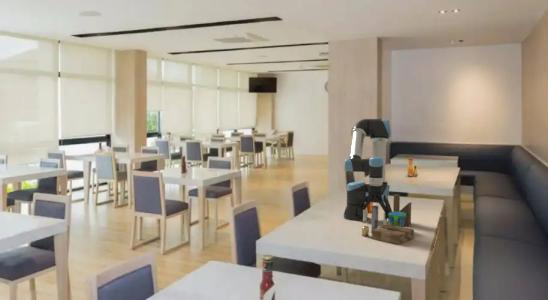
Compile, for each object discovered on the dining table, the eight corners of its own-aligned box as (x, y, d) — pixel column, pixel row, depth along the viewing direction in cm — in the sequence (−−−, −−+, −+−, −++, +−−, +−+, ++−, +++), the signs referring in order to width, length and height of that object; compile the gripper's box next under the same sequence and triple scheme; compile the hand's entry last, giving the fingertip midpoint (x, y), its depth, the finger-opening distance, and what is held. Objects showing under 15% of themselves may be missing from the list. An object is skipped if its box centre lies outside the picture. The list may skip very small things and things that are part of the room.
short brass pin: (364, 234, 249) (364, 225, 249) (369, 235, 246) (369, 226, 246) (360, 235, 246) (360, 226, 246) (366, 237, 244) (366, 227, 243)
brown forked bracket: (408, 226, 268) (409, 196, 267) (391, 223, 275) (392, 194, 274) (410, 225, 271) (411, 195, 269) (394, 222, 278) (395, 193, 276)
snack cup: (403, 235, 248) (404, 216, 248) (384, 232, 253) (384, 215, 252) (407, 228, 263) (408, 211, 262) (389, 226, 267) (389, 209, 266)
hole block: (386, 233, 252) (387, 224, 251) (413, 238, 241) (413, 229, 241) (371, 238, 240) (372, 229, 240) (399, 244, 229) (399, 235, 229)
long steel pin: (373, 231, 256) (374, 205, 255) (379, 232, 254) (379, 206, 253) (370, 232, 254) (370, 206, 252) (375, 233, 251) (376, 207, 250)
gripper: (353, 183, 257) (352, 220, 259) (392, 188, 241) (391, 227, 242) (360, 182, 263) (359, 218, 264) (398, 186, 246) (397, 225, 248)
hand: (374, 222), depth 253 cm, fingers open, 12 cm apart
